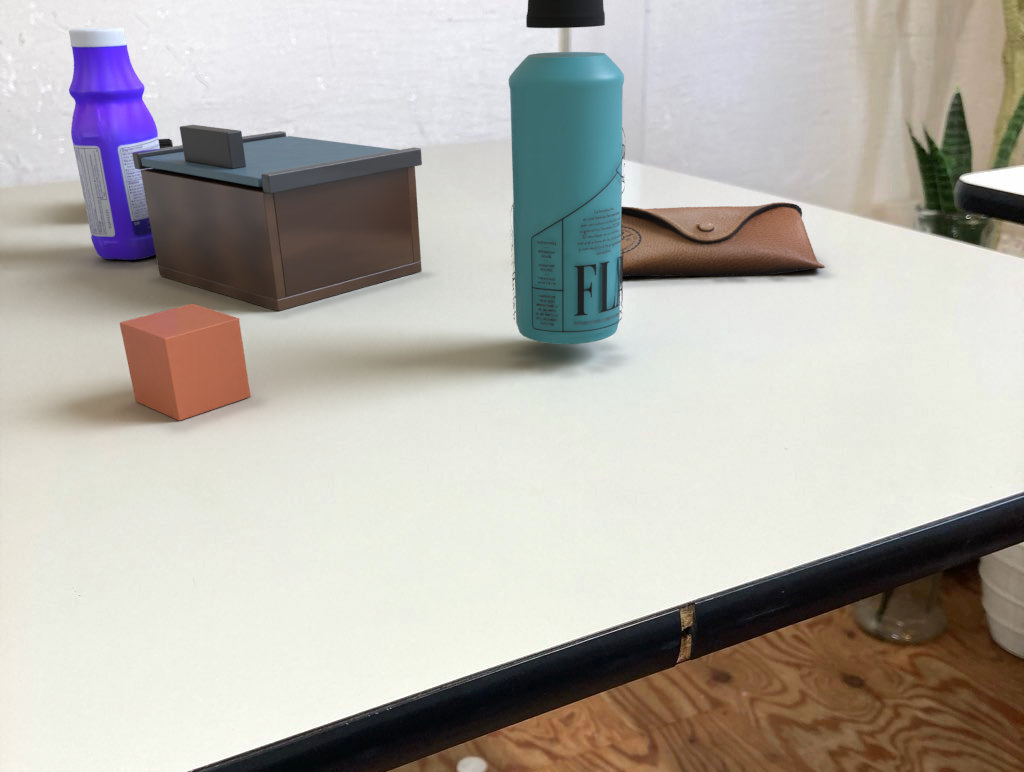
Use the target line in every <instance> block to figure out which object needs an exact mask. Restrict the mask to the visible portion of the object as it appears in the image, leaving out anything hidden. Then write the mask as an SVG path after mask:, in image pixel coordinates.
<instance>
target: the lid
mask: <svg viewBox="0 0 1024 772" xmlns="http://www.w3.org/2000/svg"><path fill="white" fill-rule="evenodd" d="M179 132H180V138H181V144H182V145H183V151H184V152H178V153H171V154H165V155H158V156H151V157H144V158H141V161H142V166H145V167H150V168H156V169H161V170H167V171H172V172H178V173H184V174H189V175H195V176H200V177H206V178H211V179H217V180H222V181H228V182H234V183H239V184H245V185H250V186H256V187H262V186H263V184H262V176H261V174H264V173H270V172H276V171H281V170H287V169H293V168H299V167H304V166H310V165H316V164H322V163H328V162H333V161H339V160H345V159H351V158H356V157H362V156H368V155H374V154H379V153H385V152H391V151H397V150H398V148H397V149H396V148H388V147H379V146H372V145H363V144H357V143H349V142H342V141H341V142H340V141H332V140H323V139H317V138H309V137H308V138H307V137H301V136H292V135H286V137H279V138H273V139H266V140H259V141H252V142H246V143H243V140H242V137H243V133H242V131H241V130H239V129H231V128H223V127H214V126H207V125H198V124H188V125H180V126H179Z"/></svg>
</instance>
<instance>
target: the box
mask: <svg viewBox="0 0 1024 772" xmlns="http://www.w3.org/2000/svg"><path fill="white" fill-rule="evenodd" d="M286 136H287V133H286V131H281V130H279V131H278V130H277V131H272V132H265V133H258V134H249V135H244V136H243V135H242V140H243V143H246V142H252V141H259V140H266V139H273V138H279V137H286ZM178 152H184V151H183V145H173V147H166V148H159V149H152V150H145V151H139V152H133V153H132V155H133V161H134V166H135V169H139V170H141V176H142V181H143V187H144V192H145V198H146V203H147V209H148V214H149V220H150V225H151V231H152V236H153V242H154V247H155V253H156V255H155V259H156V264H157V269H158V275H159V277H163V278H166V279H170V280H173V281H177V282H180V283H183V284H185V285H190V286H193V287H197V288H199V289H204V290H207V291H210V292H214V293H217V294H220V295H223V296H226V297H231V298H234V299H237V300H240V301H244V302H247V303H251V304H253V305H257V306H261V307H264V308H267V309H271V310H274V311H278V312H280V311H285V310H288V309H290V308H294V307H298V306H302V305H305V304H308V303H312V302H315V301H316V302H317V301H319V300H324V299H326V298H331V297H333V296H338V295H340V294H345V293H348V292H352V291H355V290H358V289H362V288H366V287H369V286H373V285H376V284H381V283H384V282H388V281H391V280H394V279H399V278H402V277H405V276H410V275H413V274H416V273H420V272H422V269H423V268H422V254H421V241H420V225H419V208H418V194H417V193H418V191H417V178H416V176H417V175H416V167H420V166H422V165H423V159H422V149H421V148H420V147H409V148H403V149H397V151H391V152H385V153H379V154H374V155H368V156H362V157H356V158H351V159H345V160H339V161H333V162H328V163H322V164H316V165H310V166H304V167H299V168H293V169H287V170H281V171H276V172H270V173H264V174H261V176H262V184H263V186H262V187H256V186H250V185H245V184H239V183H234V182H228V181H222V180H217V179H211V178H206V177H200V176H195V175H189V174H184V173H178V172H172V171H167V170H161V169H156V168H151V169H148V168H150V167H145V166H142V161H141V158H144V157H151V156H158V155H165V154H171V153H178ZM142 169H144V170H142Z"/></svg>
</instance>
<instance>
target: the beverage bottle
mask: <svg viewBox="0 0 1024 772" xmlns="http://www.w3.org/2000/svg"><path fill="white" fill-rule="evenodd" d="M604 9H605V7H604V0H527V12H526V19H525V23H526V24H525V25H526V28H528V29H529V28H530V29H573V28H592V27H593V28H594V27H602V26H605V24H606V13H605V10H604ZM624 83H625V75H624V72H623V71H622V70H621V68H620V67H619V66H618V64H616V63H615V61H613V60H612V58H611V57H609V56H608V55H607V54H606V53H605V52H598V51H597V52H594V51H591V52H590V51H555V52H554V51H553V52H538V53H532V54H528V55H527V56H526V57H525V58H524V59H523V60H522V61H521V62H520V63H519V65H518V66H517V67H516V68H515V69H514V70H513V71H512V73H511V74H510V76H509V78H508V87H509V97H510V98H509V99H510V101H509V102H510V131H511V134H510V135H511V163H512V164H511V166H512V167H511V169H512V198H513V203H512V205H511V210H510V211H512V213H509V214H510V217H511V214H512V222H511V220H509V221H510V223H512V226H510V228H511V229H512V230H511V232H512V233H510V236H511V239H513V243H511V247H510V249H511V251H510V252H512V253H513V254H511V256H510V257H511V258H513V260H511V263H512V271H513V272H512V275H511V277H512V278H511V279H512V281H514V282H511V285H512V290H514V296H513V298H512V300H515V302H512V303H513V306H512V307H513V308H512V309H513V314H512V316H513V320H515V323H516V327H517V329H518V332H519V334H520V335H521V336H523V337H525V338H527V339H528V340H532V341H536V342H540V343H546V344H556V345H577V344H587V343H594V342H599V341H603V340H605V339H607V338H610V337H611V336H613V335H614V334H615V333H617V331H618V328H619V323H620V321H621V320H622V318H623V316H621V315H622V314H623V312H622V309H621V307H623V299H624V298H623V296H624V295H623V292H624V291H623V288H624V287H623V277H622V269H623V255H621V234H622V230H621V227H622V228H623V225H622V224H621V207H622V202H623V201H622V200H623V199H622V197H623V193H624V191H625V186H624V187H623V184H624V185H625V184H626V182H625V181H626V178H625V175H623V166H625V165H626V164H625V162H623V160H624V159H625V158H626V141H624V139H623V135H624V137H626V134H625V131H624V128H623V87H624ZM623 141H624V142H625V144H624V143H623ZM622 251H623V249H622ZM620 269H621V272H620ZM620 314H621V315H620ZM620 316H621V317H620Z"/></svg>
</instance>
